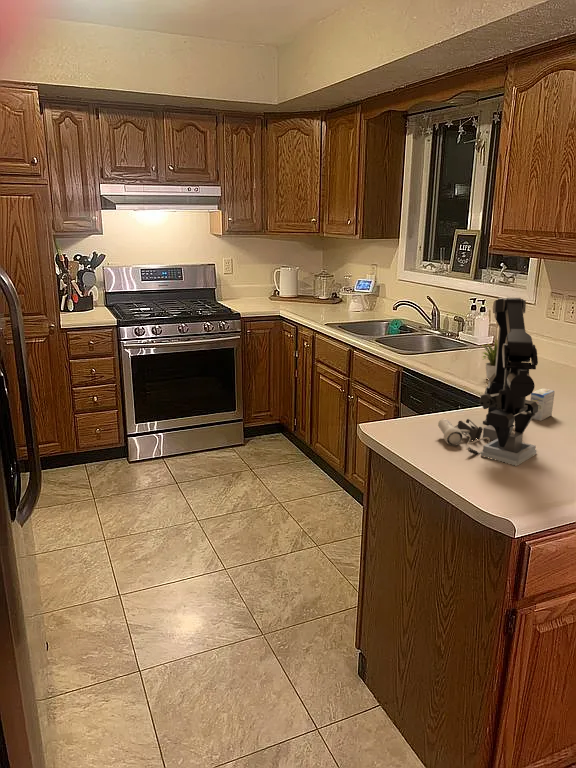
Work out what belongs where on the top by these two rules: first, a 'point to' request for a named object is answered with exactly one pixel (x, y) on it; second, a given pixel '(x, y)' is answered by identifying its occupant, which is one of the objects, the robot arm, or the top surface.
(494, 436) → the cable plug
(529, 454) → the blue gray tray
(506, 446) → the brick
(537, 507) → the top surface
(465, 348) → the top surface
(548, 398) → the medicine box
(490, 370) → the house plant
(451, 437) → the clip-on lamp
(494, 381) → the robot arm
